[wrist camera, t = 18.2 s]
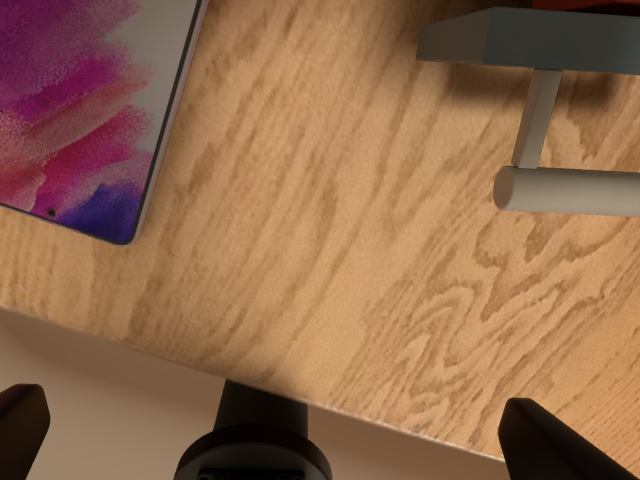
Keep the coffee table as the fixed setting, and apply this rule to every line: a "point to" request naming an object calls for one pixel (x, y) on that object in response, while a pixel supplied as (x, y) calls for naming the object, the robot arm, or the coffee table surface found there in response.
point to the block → (591, 6)
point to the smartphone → (90, 107)
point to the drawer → (545, 96)
